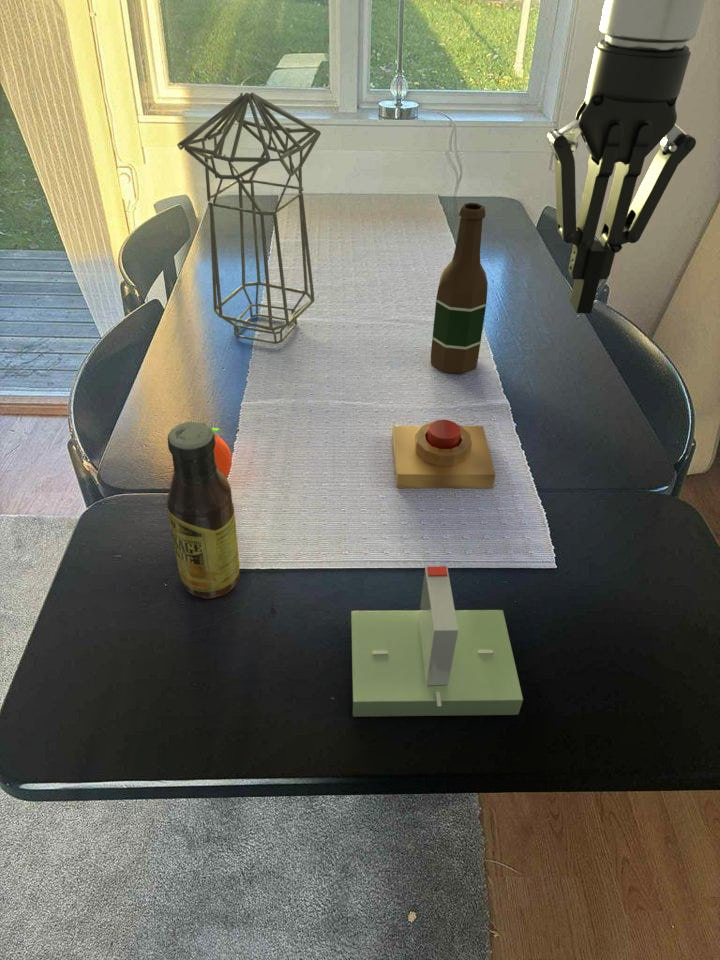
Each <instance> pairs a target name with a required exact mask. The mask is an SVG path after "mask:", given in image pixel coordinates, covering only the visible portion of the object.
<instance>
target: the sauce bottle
mask: <svg viewBox="0 0 720 960" xmlns="http://www.w3.org/2000/svg"><path fill="white" fill-rule="evenodd" d="M212 428H213V427H212V426H210V425H209V424H207V423H205V422H203V421H199V420H196V421H193V420H189V421H184V422H181V423H178V424H176V425H174V426H173V427H172V428H171V429H170V430H169V432H168V435H167V447H168V451H169V453H170V454H171V458H172V465H173V464H174V466H173V475H172V479H171V482H170V487H169V490H168V494H167V498H166V503H165V504H166V510H167V514H168V515H167V516H168V520H169V526H170V532H171V537H172V542H173V548H174V552H175V557H176V562H177V568H178V573H179V576H180V579H181V581H182V585H183V586H184V588H185V590H186V592H188V593H189V594H190V595H193V596H194V597H197V598H200V599H203V600H212V599H215V598H219V597H223V596H224V595H226V594H228V593H230V592H231V591H232V590H233V589H234V587H235V586H237V583H238V582H239V579H240V575H241V573H240V569H241V567H240V565H241V564H240V554H239V544H238V534H237V523H236V513H235V506H234V502H233V495H232V489H231V488H232V487H231V484H230V481H229V480H228V479H227V477H225V476H224V475H223V473H222V472H221V470H220V469H217V463H216V461H215V454H214V448H215V444H216V443H215V436H214V434H215V432H214V431H213V429H212Z"/></svg>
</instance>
